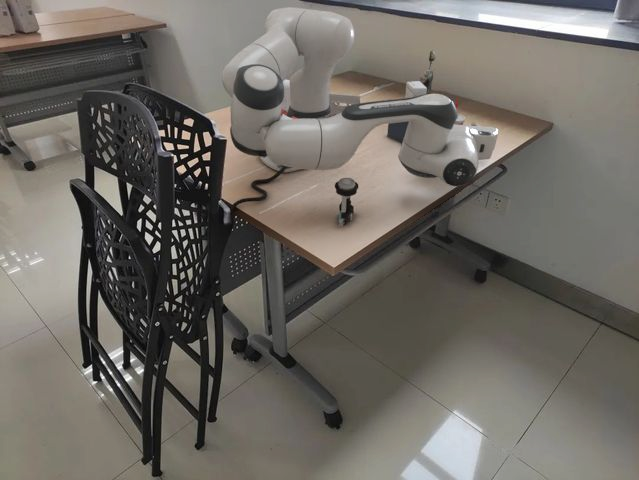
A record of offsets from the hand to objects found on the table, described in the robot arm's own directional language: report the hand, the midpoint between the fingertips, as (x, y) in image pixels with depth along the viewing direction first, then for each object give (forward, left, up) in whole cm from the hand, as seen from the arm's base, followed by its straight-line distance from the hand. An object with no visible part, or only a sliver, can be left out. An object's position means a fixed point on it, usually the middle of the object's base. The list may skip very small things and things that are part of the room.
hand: (455, 123), depth 123 cm
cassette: (0, +48, -12) cm, 49 cm away
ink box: (+18, +31, -12) cm, 38 cm away
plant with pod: (+31, +39, -12) cm, 51 cm away
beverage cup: (+6, +5, -10) cm, 13 cm away
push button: (-43, -4, -12) cm, 45 cm away
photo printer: (-17, +63, -12) cm, 66 cm away
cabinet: (+6, +18, -12) cm, 22 cm away
